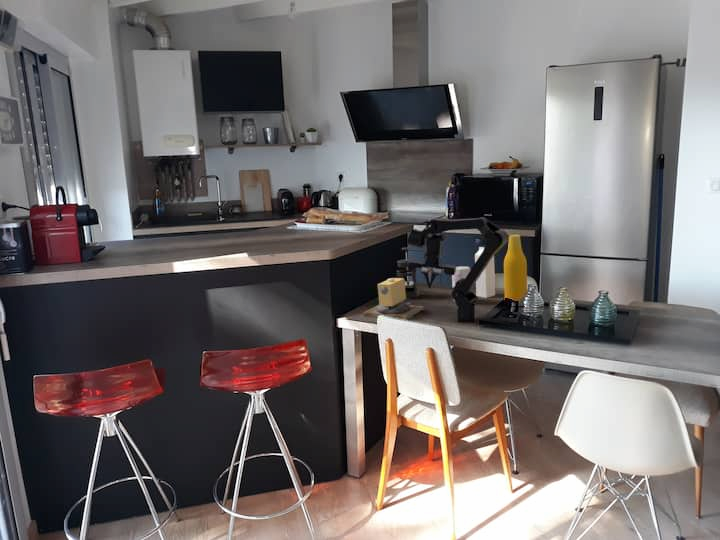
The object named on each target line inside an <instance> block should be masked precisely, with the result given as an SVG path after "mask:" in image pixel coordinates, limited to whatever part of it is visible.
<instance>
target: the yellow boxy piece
mask: <svg viewBox="0 0 720 540" xmlns="http://www.w3.org/2000/svg"><path fill="white" fill-rule="evenodd" d="M405 282H406V280H405V278H404V277H403V278H396V277H391V278H387V279H386V280H384V281H382V282H380V283H377V293H378V303H379V304H378V305H380V306H394V305H396V304H398V303H399V302H404V301H405V300H407V299H406V293H405V288H406V286H405Z"/></svg>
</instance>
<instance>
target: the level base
mask: <svg viewBox="0 0 720 540" xmlns="http://www.w3.org/2000/svg"><path fill="white" fill-rule="evenodd" d="M423 309H425V308H424V306H423V305H411V302H410V301H406V302H405V301H401V302H399V303H398V304H396V305H394V306H380V305H379V304H378V305H376V306H373V307H372V308H369V309H367V310H365V311H363V313H362V314H363V317H368V318H369V317H370V318H372V317H373V318H378V317H377V316H378V315H380V314H383V315H388V316H393V317H399V318H406V319H407V318H408V317H410V316H412V315H414V314H416V313H417V312H419V311H421V310H422V311H424V310H423ZM422 311H421V312H422ZM419 313H420V312H419ZM417 314H418V313H417ZM417 314H416V315H417ZM414 316H415V315H414ZM412 317H413V316H412ZM407 320H408V319H407Z"/></svg>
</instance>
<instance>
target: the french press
mask: <svg viewBox="0 0 720 540" xmlns="http://www.w3.org/2000/svg"><path fill="white" fill-rule="evenodd" d="M401 250H403V251H404V252H405V259H400V260H397V261H396V263H397V266H398V268H406V269H402V270H396V271H395V272H396V273H395V274H396V276H395V278H404V277H407V280H405V293H406V299H405V300H408V299H407V298H414V299H417V298H419V297H420V295H419V288H417V287H418V285H417V283H418V282H417V275H418V270H417V269H415V270H410V269H407V265H408V262H409V261H410V260H415V259H413V258H411V259H409V258H408V255H407V254H408V250H411V247H401ZM409 277H412V280H409ZM418 296H419V297H418ZM416 297H417V298H416Z"/></svg>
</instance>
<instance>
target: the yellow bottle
mask: <svg viewBox="0 0 720 540" xmlns="http://www.w3.org/2000/svg"><path fill="white" fill-rule="evenodd" d="M508 237H509V239H508V244H507V245H508V247H507V252H506V255H504V256H505V257H504V259H503V283H504V284H503V285H504V288H503V289H504V299H505V298H509V299H512V300H514V301H520V299H522V298H523V297H524V296H525V294H526V292H527V293H528V264H527V258H526V256H525V254H524V251H523V248H522V243H521V235H520V234H511V235H508Z"/></svg>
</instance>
